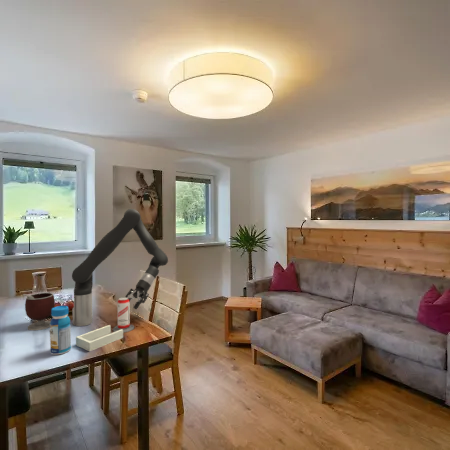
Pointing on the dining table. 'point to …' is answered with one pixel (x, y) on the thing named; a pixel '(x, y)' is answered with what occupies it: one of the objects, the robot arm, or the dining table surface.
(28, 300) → the mate gourd
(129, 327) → the mat
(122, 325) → the beer can
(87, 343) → the cream open tray
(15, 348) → the dining table surface
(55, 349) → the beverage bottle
